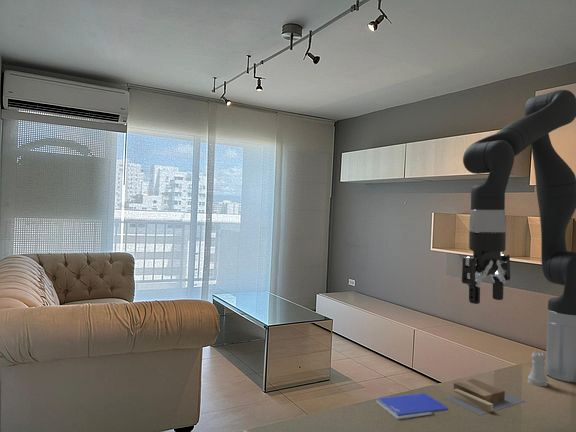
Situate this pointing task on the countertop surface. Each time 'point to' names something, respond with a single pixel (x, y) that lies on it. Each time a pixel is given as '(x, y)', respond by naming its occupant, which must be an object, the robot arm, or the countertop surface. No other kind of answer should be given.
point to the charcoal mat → (504, 403)
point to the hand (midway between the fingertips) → (486, 301)
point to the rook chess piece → (538, 370)
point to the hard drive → (410, 405)
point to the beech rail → (473, 400)
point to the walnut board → (481, 390)
